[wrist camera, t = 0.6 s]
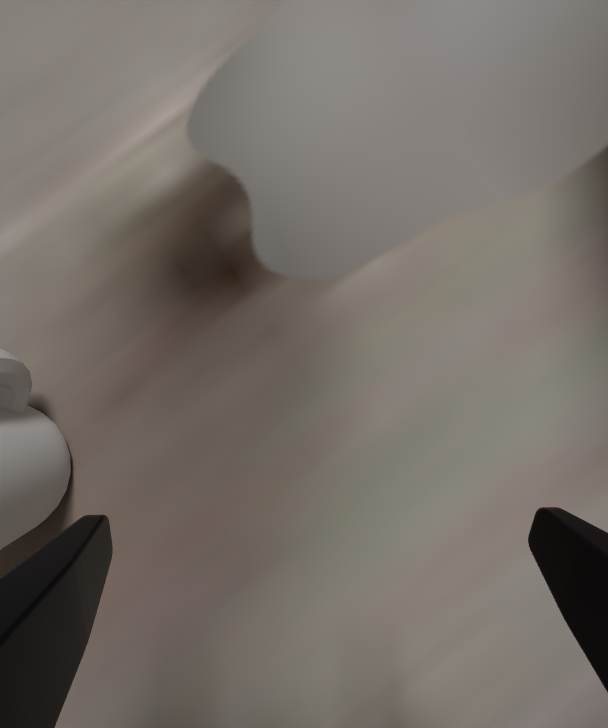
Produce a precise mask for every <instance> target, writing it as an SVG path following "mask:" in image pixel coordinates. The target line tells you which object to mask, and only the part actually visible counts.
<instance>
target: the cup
mask: <svg viewBox="0 0 608 728" xmlns="http://www.w3.org/2000/svg"><path fill="white" fill-rule="evenodd" d="M31 387H32V381H31V375H30V371H29V370H28V369H27V368H26V366H25V365H24V364H23V363H22V362H21V361H20V360H19V359H18V358H17V357H16V356H15V355H13V354H11V353H9V352H7V351H4V350H2V349H0V550H1V549H2V548H4V547H5V546H7V545H8V544H10V543H12V542H13V541H15V540H16V539H18V538H19V537H21V536H22V535H24V534H26V533H27V532H29V531H30V530H32V529H33V528H35V527H37V526H38V525H39V524H41V523H42V522H43V521H44V520H45V519H46V518H47V517H48V516H49V515H50V514H51V513H52V512H53V511H54V510H55V509H56V508H57V507H58V505H59V503H60V501H61V499H62V498H63V496H64V494H65V492H66V490H67V486H68V482H69V478H70V474H71V467H70V453H69V450H68V447H67V444H66V441H65V438H64V437H63V435H62V434H61V432H60V430H59V429H58V427H57V426H56V424H55V423H54V422H52V421H51V420H50V419H49V418H48V417H47V416H46V415H44V414H43V413H42V412H40V411H38V410H36V409H34V408H32V407H30V406H28V405H27V403H28V400H29V398H30V392H31Z"/></svg>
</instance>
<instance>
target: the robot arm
mask: <svg viewBox="0 0 608 728" xmlns="http://www.w3.org/2000/svg"><path fill="white" fill-rule="evenodd" d="M528 542H529V547H530V550H531V552H532V554H533V556H534V558H535V560H536V562H537V564H538V566H539V568H540V570H541V573H542V575H543V577H544V579H545V581H546V583H547V585H548V587H549V589H550V591H551V593H552V595H553V597H554V599H555V601H556V603H557V606H558V608H559V610H560V611H561V613H562V615H563V617H564V619H565V621H566V623H567V625H568V626H569V628H570V630H571V632H572V633H573V635H574V637H575V638H576V640H577V642H578V643H579V645H580V647H581V648H582V650H583V652H584V653H585V655H586V657H587V658H588V660H589V662H590V664H591V665H592V667H593V669H594V670H595V672H596V674H597V675H598V677H599V679H600V680H601V682H602V684H603V685H604V687H605V689H606V690H607V692H608V533H607V532H605V531H603V530H601V529H599V528H597V527H595V526H593V525H592V524H590V523H588V522H586V521H584V520H582V519H580V518H578V517H576V516H574V515H572V514H571V513H569V512H567V511H565V510H563V509H561V508H558V507H542V508H539V509H538V510H537V511H536V514H535V517H534V520H533V523H532V526H531V530H530V533H529V537H528ZM112 549H113V548H112V540H111V532H110V525H109V520H108V517H107V516H105V515H86V516H83V517H82V518H80V519H79V520H77V521H76V522H75V523H73V524H72V525H71V526H69V527H68V528H67V529H65V530H64V531H63V532H61V533H60V534H59V535H57V536H56V537H55V538H53V539H52V540H51V541H49V542H48V543H47V544H45V545H44V546H42V547H41V548H40V549H38V550H37V551H36V552H34V553H33V554H32V555H30V556H29V557H28V558H26V559H25V560H24V561H22V562H21V563H20V564H18V565H17V566H16V567H14V568H13V569H12V570H10V571H9V572H8V573H6V574H5V575H4V576H2V577H1V578H0V728H54V727H55V725H56V722H57V720H58V717H59V715H60V712H61V710H62V707H63V705H64V702H65V700H66V697H67V695H68V692H69V689H70V687H71V684H72V682H73V679H74V677H75V674H76V672H77V669H78V667H79V664H80V662H81V659H82V657H83V654H84V651H85V648H86V646H87V643H88V640H89V637H90V633H91V630H92V627H93V623H94V620H95V616H96V613H97V609H98V605H99V602H100V598H101V595H102V591H103V588H104V584H105V581H106V577H107V574H108V570H109V566H110V563H111V559H112Z"/></svg>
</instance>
